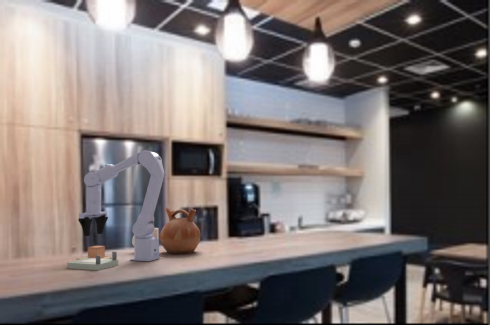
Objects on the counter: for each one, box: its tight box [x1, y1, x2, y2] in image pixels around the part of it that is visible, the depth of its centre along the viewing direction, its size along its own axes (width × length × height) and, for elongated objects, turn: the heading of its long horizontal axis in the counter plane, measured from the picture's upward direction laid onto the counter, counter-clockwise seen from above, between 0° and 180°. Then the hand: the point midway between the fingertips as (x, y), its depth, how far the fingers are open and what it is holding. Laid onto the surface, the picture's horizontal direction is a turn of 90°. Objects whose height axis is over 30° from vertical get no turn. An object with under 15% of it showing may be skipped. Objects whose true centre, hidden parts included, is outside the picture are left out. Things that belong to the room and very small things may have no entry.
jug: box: [159, 207, 201, 255], centre depth 188 cm, size 18×18×20 cm
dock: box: [66, 251, 119, 271], centre depth 155 cm, size 14×11×5 cm
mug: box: [131, 227, 159, 247], centre depth 192 cm, size 12×8×10 cm
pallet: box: [75, 255, 112, 261], centre depth 167 cm, size 12×9×1 cm
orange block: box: [87, 245, 106, 258], centre depth 167 cm, size 5×5×4 cm
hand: (93, 234), depth 172 cm, fingers open, 7 cm apart
